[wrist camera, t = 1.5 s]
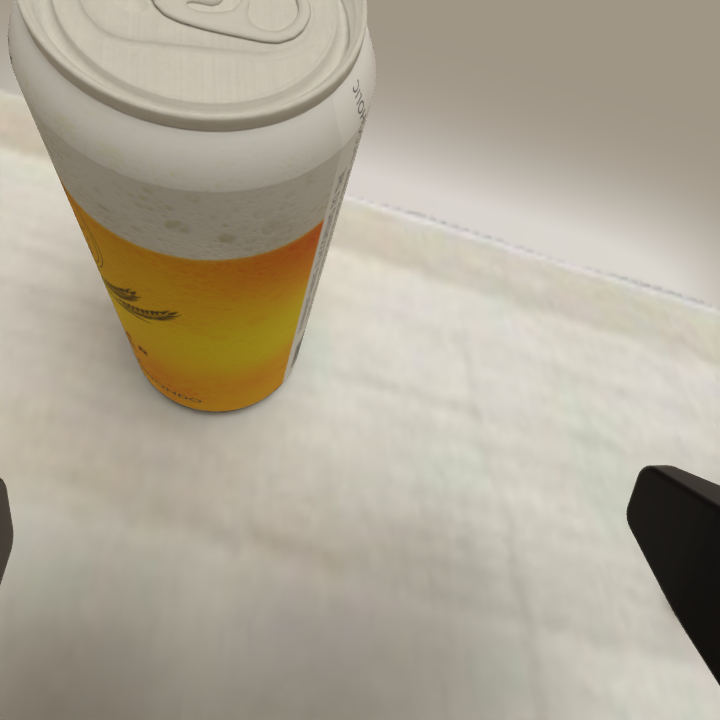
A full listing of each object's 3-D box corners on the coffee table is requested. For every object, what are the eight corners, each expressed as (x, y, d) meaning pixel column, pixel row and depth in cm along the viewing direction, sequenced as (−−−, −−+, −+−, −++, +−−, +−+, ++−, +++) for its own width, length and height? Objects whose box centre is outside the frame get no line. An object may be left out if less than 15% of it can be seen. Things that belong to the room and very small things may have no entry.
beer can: (152, 261, 23) (40, -192, 10) (304, 283, 24) (397, -99, 11) (121, 407, 21) (-80, 92, 8) (290, 425, 22) (383, 176, 9)
